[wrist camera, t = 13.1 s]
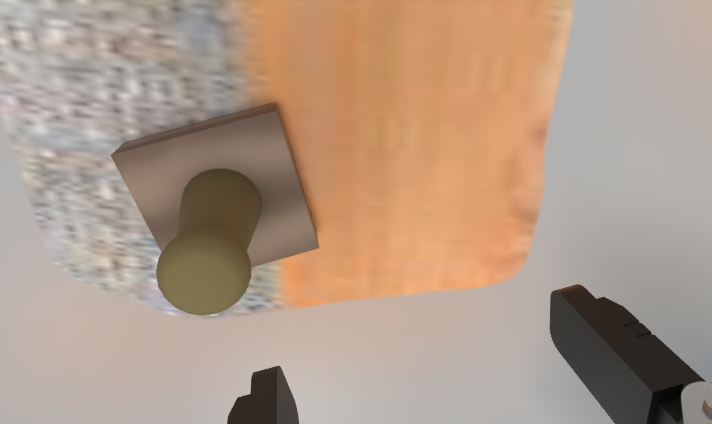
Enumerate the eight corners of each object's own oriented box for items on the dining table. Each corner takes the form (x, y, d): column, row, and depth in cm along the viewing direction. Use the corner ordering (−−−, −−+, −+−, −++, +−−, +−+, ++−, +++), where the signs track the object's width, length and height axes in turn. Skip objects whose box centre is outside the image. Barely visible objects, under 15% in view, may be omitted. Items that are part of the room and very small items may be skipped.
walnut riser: (123, 142, 33) (110, 155, 30) (275, 102, 33) (275, 110, 31) (186, 268, 38) (180, 287, 36) (316, 231, 39) (319, 247, 36)
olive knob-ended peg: (179, 235, 34) (141, 329, 24) (182, 162, 31) (140, 235, 22) (258, 242, 35) (251, 334, 25) (266, 173, 33) (263, 245, 23)
